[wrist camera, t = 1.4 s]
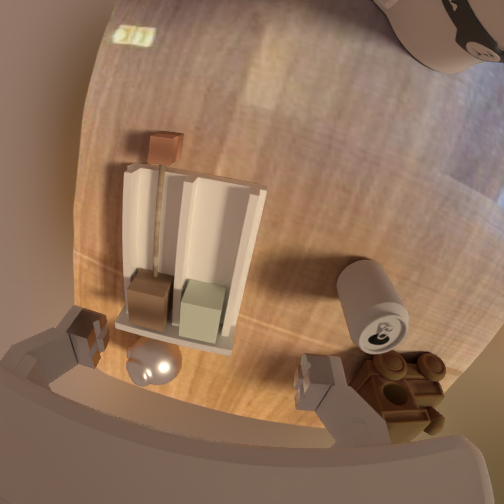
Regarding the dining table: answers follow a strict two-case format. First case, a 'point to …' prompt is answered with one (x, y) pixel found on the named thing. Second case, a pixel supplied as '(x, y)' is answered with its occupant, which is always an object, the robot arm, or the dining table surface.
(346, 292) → the can
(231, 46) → the dining table surface
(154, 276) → the brown block pusher rod
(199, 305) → the sage block
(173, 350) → the grey round lump
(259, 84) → the dining table surface
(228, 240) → the lane shelf
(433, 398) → the wooden toy train
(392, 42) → the dining table surface
